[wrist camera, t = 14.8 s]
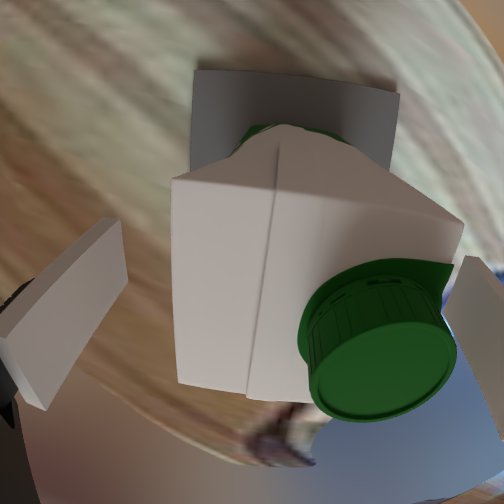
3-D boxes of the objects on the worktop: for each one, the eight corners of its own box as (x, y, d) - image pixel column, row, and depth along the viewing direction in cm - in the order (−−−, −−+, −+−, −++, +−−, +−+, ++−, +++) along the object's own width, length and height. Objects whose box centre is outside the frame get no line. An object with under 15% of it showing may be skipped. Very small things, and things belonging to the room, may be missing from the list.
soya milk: (335, 232, 27) (397, 456, 9) (229, 217, 27) (144, 433, 9) (355, 129, 23) (532, 237, 5) (238, 112, 23) (99, 170, 5)
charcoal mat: (197, 70, 23) (194, 70, 22) (396, 93, 22) (400, 93, 21) (193, 249, 30) (190, 254, 29) (363, 267, 29) (365, 272, 28)
